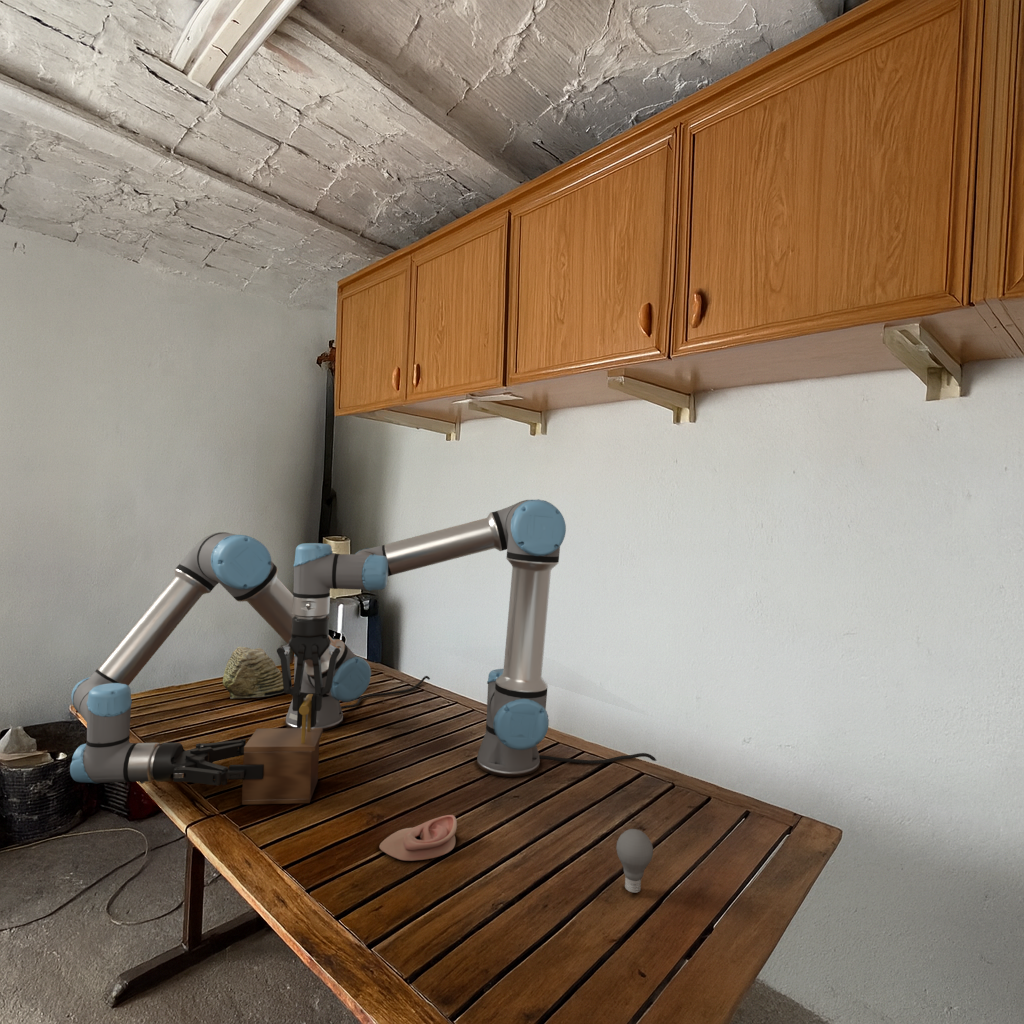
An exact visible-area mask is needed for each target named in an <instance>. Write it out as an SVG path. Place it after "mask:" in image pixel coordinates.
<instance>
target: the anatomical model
mask: <svg viewBox="0 0 1024 1024" xmlns="http://www.w3.org/2000/svg"><path fill="white" fill-rule="evenodd" d="M457 830H458V820H457V818H456V816H455V815H453V814H446V815H442V816H441V815H440V816H438V817H435V818H433V819H430V820H427V821H425V822H423V823H421V824H419V825H416V826H414V827H406V828H402V829H399V830H397V831H395V832H393V833H392V834H389V835H388V836H387V837H386V838H385V839H384V840H382V841H381V842H380V844H379V850H381V852H383V853H384V854H386V855H388V856H390V857H392V858H394V859H397V860H400V861H403V862H414V861H423V860H429V859H430V860H431V859H434V858H439V857H441V856H444V855H446V854H448V853H450V852H451V851H452V850H453V849H454V848H455V846H456V842H457V841H456V836H455V835H456V833H457Z"/></svg>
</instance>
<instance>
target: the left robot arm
mask: <svg viewBox="0 0 1024 1024" xmlns="http://www.w3.org/2000/svg"><path fill="white" fill-rule="evenodd" d="M278 571H279V569H278V566H276V565H275V564H274V562H273V561H272V556H271V553H270V551H269V549H268V548H267V547H266V546H265V544H263V543H262V542H261V541H259V539H256V538H254V537H252V536H249V535H245V534H235V533H231V532H227V531H226V532H224V531H222V532H221V531H219V532H214V533H211V534H208V535H206V536H204V537H203V538H201V540H200V541H198V542H197V543H196V544H195V545H194V547H192V548H191V550H190V551H189V552H188V553H187V554H186V555H185V556H184V558H183V559H182V560H181V561H180V562H179V564H178V565H176V567H175V569H174V576H173V578H172V579H171V580H170V581H169V583H168V584H167V585H166V586H165V587H164V589H163V590H162V591H161V592H160V593H159V594H158V596H157V597H156V598H155V599H154V600H153V602H152V603H151V604H150V605H149V607H148V608H147V609H146V610H145V611H144V613H143V614H142V615H141V616H140V617H139V618H138V620H137V621H135V624H133V626H132V627H131V628H130V629H129V631H127V633H126V634H125V635H124V636H123V638H121V640H120V641H119V642H118V643H117V645H116V646H115V647H114V648H113V649H112V650H111V652H110V653H109V654H108V655H107V657H106V658H104V660H103V661H102V663H100V664H99V666H98V667H97V668H96V670H94V672H93V673H92V674H91V675H90V676H89V677H85V678H83V679H81V680H80V681H79V682H77V683H76V684H75V685H74V687H73V688H72V691H71V695H70V698H71V699H70V700H71V702H72V706H73V708H74V710H75V711H77V713H78V714H79V715H80V716H81V717H82V718H83V720H84V721H85V722H86V743H82V744H80V745H79V746H78V747H77V748H76V749H75V751H74V752H73V755H72V757H71V763H70V766H69V773H70V777H71V778H72V780H73V781H75V782H77V783H89V784H97V785H98V784H105V783H106V784H107V783H139V784H141V785H142V784H145V783H147V782H150V783H151V782H153V781H155V782H160V783H163V782H164V783H165V782H166V783H167V782H173V783H183V782H185V783H193V784H200V785H208V786H215V787H216V786H217V787H219V786H227V785H228V782H229V781H235V780H242V781H243V779H263V770H264V764H261V765H243V764H230V765H229V766H224V765H221V764H217V763H214V762H218V761H222V760H228V759H233V758H237V757H242V756H244V746H245V745H246V744H247V739H245V738H241V739H235V740H234V739H233V740H227V741H217V742H210V743H205V742H203V743H201V742H200V743H196V744H195V748H192V749H188V750H186V749H185V748H184V746H183V744H182V743H180V742H163V743H160V742H130V736H131V733H130V732H131V714H132V704H133V700H132V690H131V687H130V684H131V683H132V682H133V681H134V680H135V678H136V677H137V676H138V675H139V673H140V672H141V671H142V670H143V669H144V667H145V666H146V665H147V664H148V662H149V661H150V660H151V659H152V657H153V656H154V655H155V654H156V652H157V651H158V650H159V649H160V648H161V646H163V644H164V643H165V641H166V640H167V639H168V638H169V637H170V635H171V634H172V633H173V632H174V630H176V628H177V627H178V626H179V624H180V623H181V622H182V621H183V619H185V617H186V615H188V614H189V612H190V611H191V610H192V608H193V607H194V606H195V605H196V604H197V602H198V601H199V600H200V599H201V597H202V596H203V595H206V594H210V593H212V591H213V590H214V588H215V587H216V586H217V585H219V584H220V586H222V588H224V590H226V591H227V593H228V594H230V596H231V597H232V598H233V599H234V600H235V601H236V602H240V603H241V602H246V603H248V604H249V606H250V607H252V608H253V609H254V610H255V612H256V613H257V614H258V615H259V616H260V617H261V618H262V619H263V620H264V621H265V622H266V623H267V624H268V625H269V626H270V627H271V628H272V629H273V630H274V632H276V634H277V635H279V636H280V638H281V639H282V640H283V641H284V642H285V644H288V643H289V641H290V639H291V636H292V618H293V617H294V616H295V615H293V613H292V610H293V593H292V592H291V591H290V590H289V589H288V588H287V587H286V586H285V585H284V583H283V582H282V581H281V580H280V578H278ZM328 636H329V639H330V641H331V644H333V645H335V646H340V647H341V651H340V653H339V655H338V656H337V660H336V666H335V671H334V677H333V682H332V688H331V690H330V692H329V693H328V694H324V695H322V708H321V710H320V711H317V717H316V725H315V727H314V728H323V732H325V731H329V730H332V729H335V728H337V727H339V726H340V725H342V723H343V722H344V714H343V710H344V709H352V708H356V707H358V706H359V705H360V703H361V701H362V700H364V699H367V698H371V697H382V696H388V695H396V694H403V693H408V692H411V691H414V690H415V689H417V688H418V687H419V686H420V685H421V684H423V682H424V681H425V680H426V679H427V680H429V681H430V680H431V678H430V676H428V675H424V676H423V678H421V680H420V681H419V682H417V683H416V684H415V685H414V686H412V687H409V688H407V689H401V690H393V691H387V692H377V693H370V694H365V695H363V694H364V693H365V692H366V690H367V689H368V687H369V685H370V682H371V676H372V668H371V666H370V664H369V662H368V661H367V660H365V658H363V657H362V656H357V655H356V654H355V653H354V652H353V651H352V650H351V649H350V647H348V645H347V644H346V643H345V642H344V641H343V640H342V639H338V638H332V637H331V636H330V634H328ZM293 657H294V672H293V682H294V681H295V674H296V667H297V656H296V655H295V654H294V655H293ZM330 658H331V655H330V654H329V649H327V650H326V651H325V652H324V654H323V655H322V656H321V671H322V685H323V687H325V683H326V678H327V672H328V667H329V661H330ZM300 693H304V700H305V698H306V696H307V695H308V694H314V693H315V683H314V669H313V661H312V660H309V659H308V660H305V664H304V671H303V678H302V685H301V691H300ZM362 695H363V696H362ZM357 699H358V700H357ZM356 700H357V702H356V703H353V704H346V705H341V702H343V703H350V702H353V701H356ZM292 707H293V698H292V699H291V702H290V704H289V708H288V711H287V713H286V715H285V726H286V728H297V711H293V709H292ZM307 720H308V714H307V715H306V728H307ZM301 728H302V726H301ZM228 780H229V781H228Z"/></svg>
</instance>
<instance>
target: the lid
mask: <svg viewBox="0 0 1024 1024" xmlns="http://www.w3.org/2000/svg"><path fill="white" fill-rule="evenodd" d="M312 696H313V694H308V695H307V696H306V698H305V700H304V701H303V703H302V705H301V707H300V708H299V713H300V714H301V715H302V728H288V727H286V728H283V727H282V728H281V727H280V728H278V727H276V728H274V727H273V728H272V727H270V728H269V727H267V728H260V727H259V728H256V729H255V731H254V732H253V734H252V735H251V736H250V738H249V739H248V741H246V745H245V746H244V752H286V751H315V750H316V747H317V745H318V742H319V743H320V740H321V737H322V735H323V732H324V731H323V728H311V702H312ZM307 714H308V720H307V728H306V715H307Z"/></svg>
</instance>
